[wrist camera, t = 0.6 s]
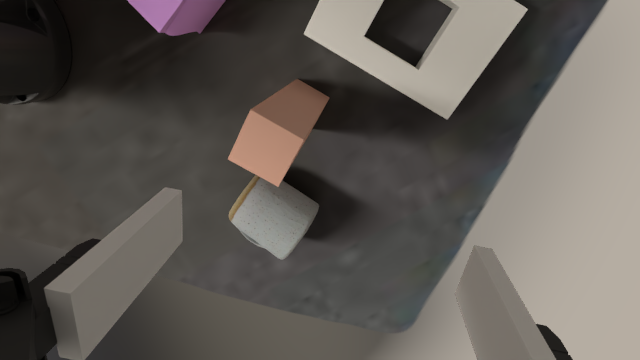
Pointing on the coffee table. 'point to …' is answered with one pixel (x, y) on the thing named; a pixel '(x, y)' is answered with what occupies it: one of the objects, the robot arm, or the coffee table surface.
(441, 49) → the socket block
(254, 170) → the peg
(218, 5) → the toy chair
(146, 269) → the robot arm
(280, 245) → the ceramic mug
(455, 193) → the coffee table surface
